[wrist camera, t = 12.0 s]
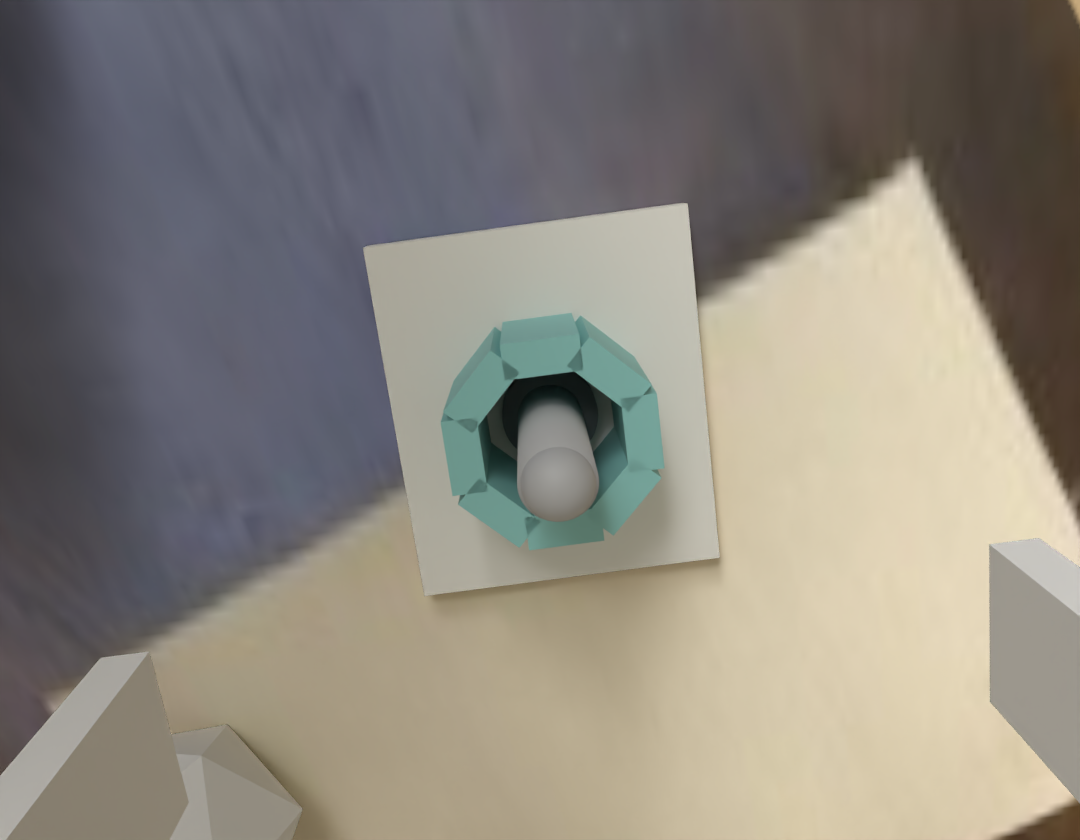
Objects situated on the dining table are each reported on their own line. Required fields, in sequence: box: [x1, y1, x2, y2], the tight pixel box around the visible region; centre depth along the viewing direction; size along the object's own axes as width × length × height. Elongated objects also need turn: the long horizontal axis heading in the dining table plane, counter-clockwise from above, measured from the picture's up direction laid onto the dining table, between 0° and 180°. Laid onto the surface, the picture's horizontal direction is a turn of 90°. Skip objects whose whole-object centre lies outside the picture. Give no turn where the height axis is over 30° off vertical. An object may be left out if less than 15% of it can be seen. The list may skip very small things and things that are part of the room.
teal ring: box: [440, 313, 665, 550], centre depth 34 cm, size 7×7×5 cm
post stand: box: [363, 203, 720, 596], centre depth 32 cm, size 14×12×11 cm
